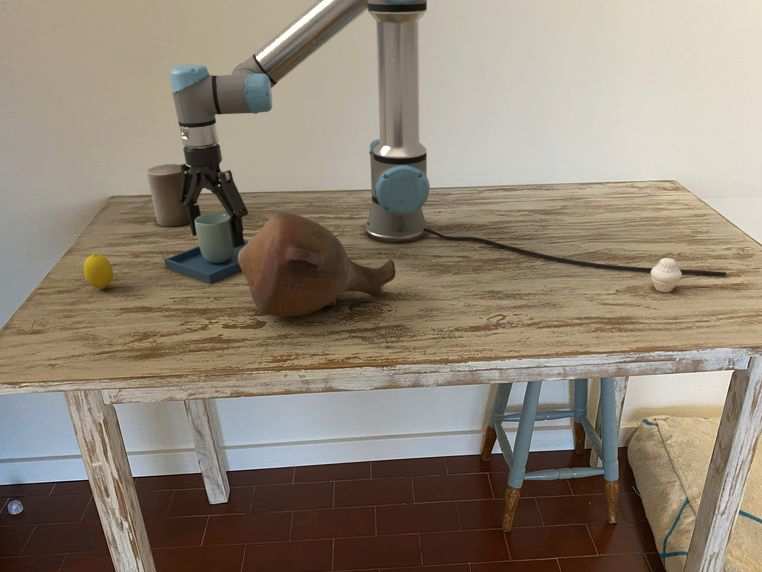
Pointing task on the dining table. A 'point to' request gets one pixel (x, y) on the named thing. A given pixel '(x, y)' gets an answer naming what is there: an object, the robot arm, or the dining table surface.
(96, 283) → the lemon
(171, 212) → the pillar candle
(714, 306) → the dining table surface
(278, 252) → the jug
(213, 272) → the tray
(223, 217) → the cup
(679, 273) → the muffin
